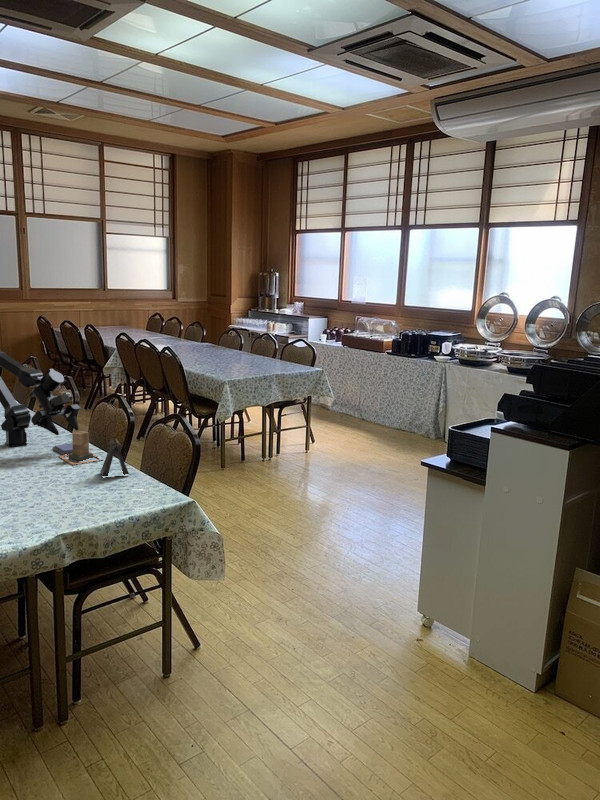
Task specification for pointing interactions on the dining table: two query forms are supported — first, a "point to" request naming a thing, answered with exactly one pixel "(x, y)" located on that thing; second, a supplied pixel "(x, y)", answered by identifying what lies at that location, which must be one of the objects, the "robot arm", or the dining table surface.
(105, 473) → the dark brown a-frame stand
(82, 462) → the marked frame
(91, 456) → the stamp
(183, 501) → the dining table surface
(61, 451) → the ink pad
